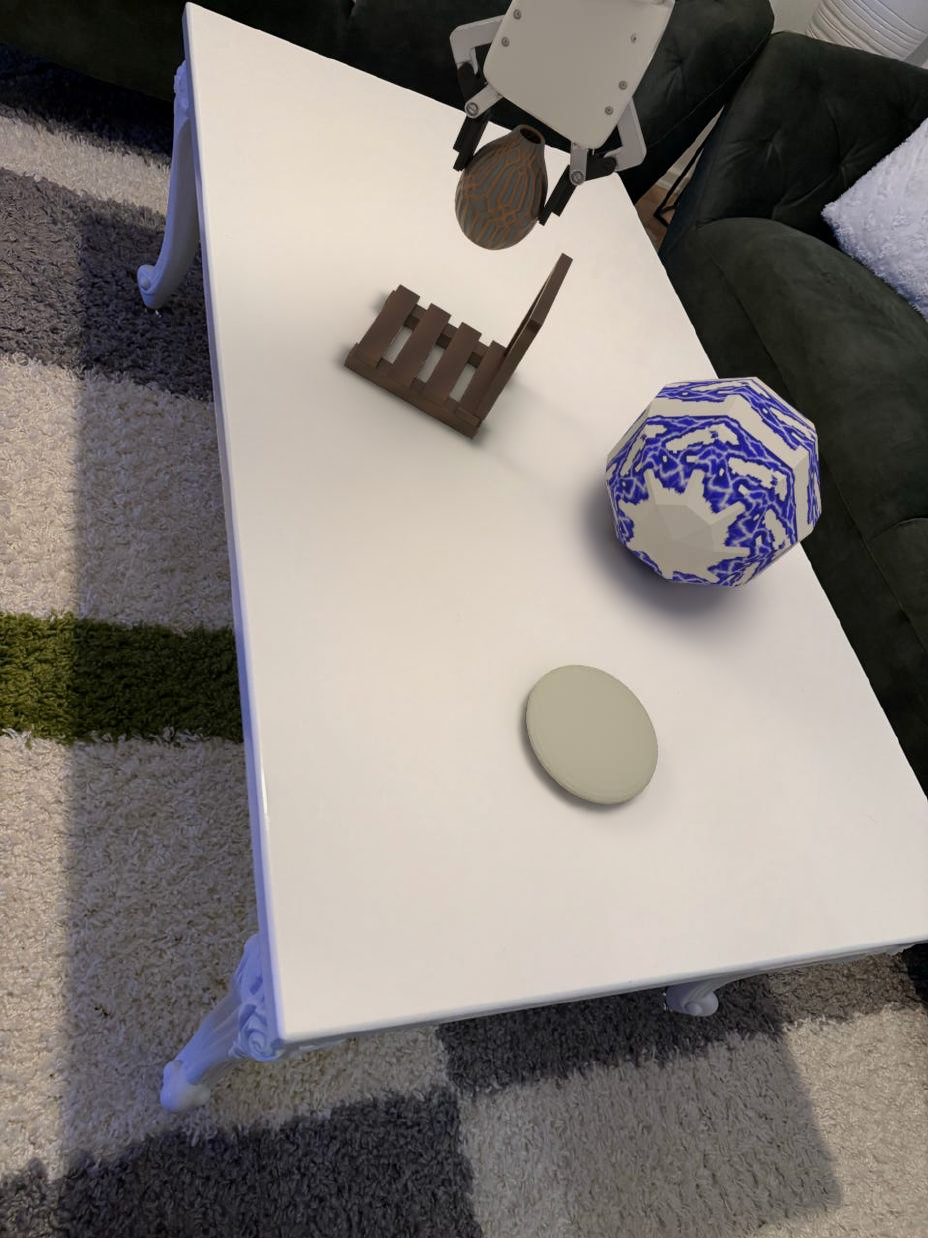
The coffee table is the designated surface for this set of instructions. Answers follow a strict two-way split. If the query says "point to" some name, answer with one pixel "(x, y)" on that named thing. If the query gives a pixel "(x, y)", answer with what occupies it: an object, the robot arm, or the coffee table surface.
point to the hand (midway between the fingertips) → (504, 188)
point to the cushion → (592, 734)
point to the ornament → (715, 481)
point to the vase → (503, 189)
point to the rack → (448, 354)
